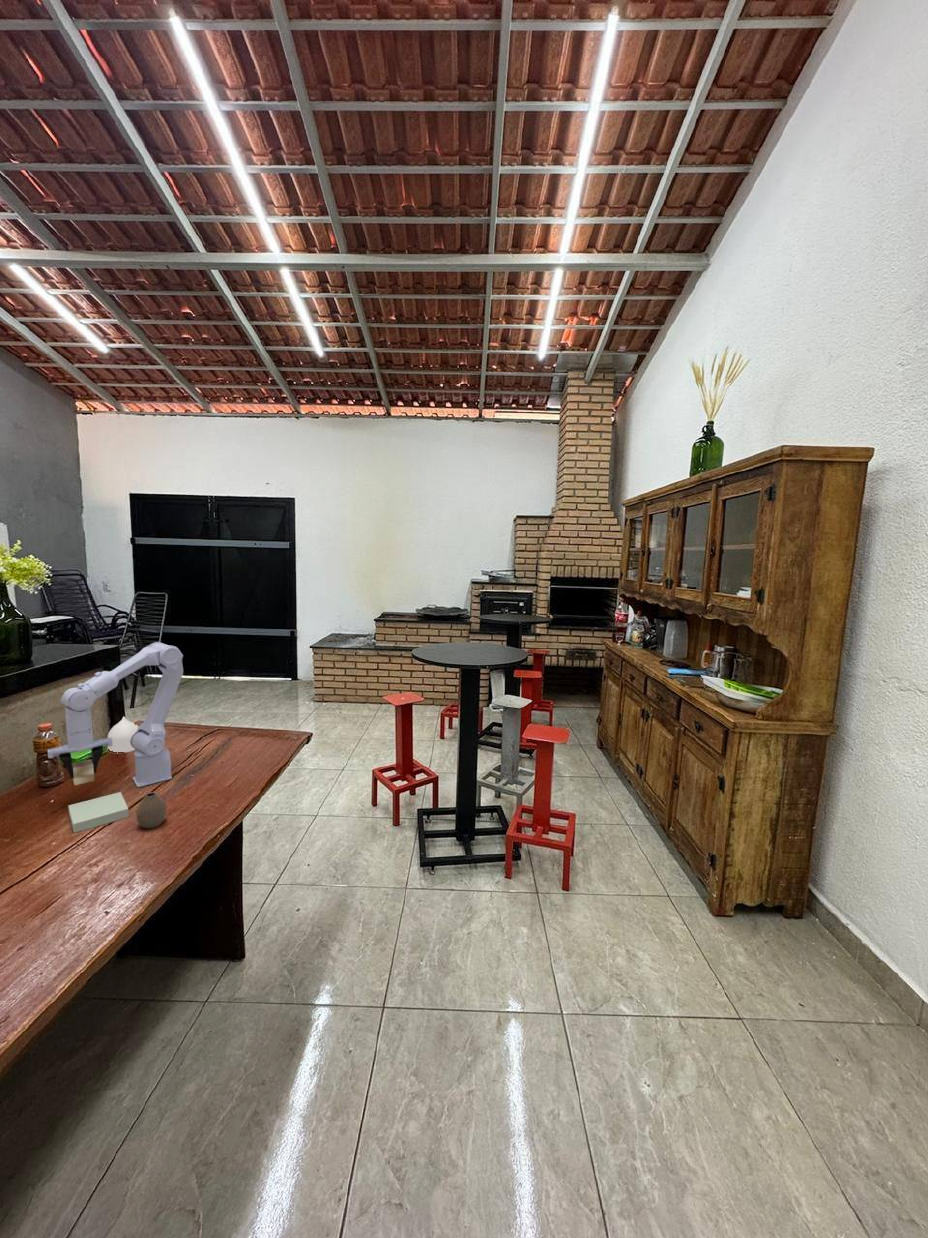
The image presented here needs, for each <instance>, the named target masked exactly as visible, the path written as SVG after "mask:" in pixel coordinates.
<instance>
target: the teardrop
mask: <svg viewBox="0 0 928 1238" xmlns="http://www.w3.org/2000/svg"><path fill="white" fill-rule="evenodd" d="M135 724H136V723H134V722H132V721H130V720H129V719H127V718H126V717H125V716H123V717H122V719H121V720H120V721H118V722H117V723H116V724H115V725H113V726H112V727H111V729H110V730H109V732H108V734H107V736H106V738H112V742H113V746H107V750H108V749H109V750H110V751H113V752H117V753H116V754H119V753H118V752H124V753H128V752H129V753H130V752H133V751H135V748H133V747H132V746H131V744H130V739H131V737H132V735H133V734H134V733H135V732H136V731H137V729H138V727H139V725H137V724H136V725H135Z"/></svg>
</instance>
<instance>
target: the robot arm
mask: <svg viewBox="0 0 928 1238" xmlns="http://www.w3.org/2000/svg"><path fill="white" fill-rule="evenodd" d="M183 657H184V655H183V653H182V652H181V650H180V649H179V648H178V647H177V646H174V645H168V644H165V643H163V642H160V641H155V642H153V643H150V644H149V645H148V646H145V647H143V648H142V649H141V650H140V651H139V652H137V653H136V654H135V655H133V656H131V657H130V658H128V659H127V660H125V661H124V662H122V663H121V664H120V665H118V666H117V667H116V668H114V669H112V670H111V671H109V670H102V671H97V672H95V673H94V674H93V675H94V676H93V677H91V678H89V679H88V680H86V681H85V682H83V683H82V682H80V683H78V684H77V687H75V686H74V687H71V688H68V689H67V690H65V691H64V693H63V694H62V695H61V698H60V703H61V704H62V705H63V706H64V709H65V710H64V711H65V726H66V727H65V728H66V736H67V744H64V745H61V746H58V747H54V748H49V749H47V757H48V759H52V758H55V757H59V760H60V762H61V763H62V764H63V765H64V767H65V768H66V770H67V771H68V775H69V778H70V780H73V778H74V775H73V770H72V763H73V762H72V761H73V758H72V754H73V753H79V752H83V751H88V750H89V751H90V750H91V751H90V752H91V760H92V762H93V768H94V774H97V770H98V769H97V768H98V764H99V762H100V760H101V758H102V755H103V753H104V747H108V746H113V742H112V738H107V737H105V738H97V739H94V732H93V720H92V719H93V718H92V712H91V708H92V706H93V704H94V703H95V701H96V700H97V699H99V698H101V697H103V695H106V694H107V693H109V692H110V691H112V690H114V689H115V688H117V687H118V684H119V681H120V680H122V679H124V678H126V677H127V676H129V675H130V674H132V673H134V672H136V671H138V670H139V669H141V668H143V667H146V666H157V667H158V668H159V670H160V672H162V675H161V678H160V681H159V683H158V686H157V689H156V691H155V695H154V697H153V699H152V701H151V704H150V706H149V707H150V708H149V710H148V712H147V715H146V717H145V720H144V722H142V723H141V724H139V725H138V729H137V731H136V732H135V733H134V734H133V735H132V737H131V739H130V744H131V746H132V747H133V748H135V750H134V767H135V768H134V770H135V776H133V777H132V780H133V781H134V784H135V785H136V787H137V788H141V787H145V786H148V785H153V784H157V783H160V782H164V781H168V780H172V778H173V776H172V760H171V754H170V751H169V749H168V748H165V745H166V742H165V741H166V740H165V737H166V734H167V732H166V729H165V723H166V721H167V717H168V714H169V713H170V710H171V706H172V704H173V701H174V699H175V696H176V693H177V690H178V689H179V685H180V682H181V680H182V678H183V675H184V667H183Z"/></svg>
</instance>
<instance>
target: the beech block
mask: <svg viewBox="0 0 928 1238" xmlns="http://www.w3.org/2000/svg"><path fill="white" fill-rule="evenodd" d="M72 770H73V775H74V778H72V781H73V784H74V786H79V785H81V784H82V785H83V784H87V783H90V782H95V773H94V768H93V762H92V758H91V759H85V760H81V761H76V762H72Z"/></svg>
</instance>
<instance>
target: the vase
mask: <svg viewBox="0 0 928 1238" xmlns="http://www.w3.org/2000/svg"><path fill="white" fill-rule="evenodd" d="M167 811H168V810H167V804H166V802H165V800H164V799H162V798H161V797H160V796H159V795H157V793H156V792H153V791H152V792H148V793H146V794H145V795H144V798H143V799H141V802H140V803H139V804H138V806H137V809H136V812H135V813H136V815H135V817H136V820H137V823H138V825H139V826H141V827H142V828H144V829H154V828H156V827H159V826H160V825H161V824H162V823H163V822H164V820H165V819H166V816H167Z"/></svg>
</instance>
